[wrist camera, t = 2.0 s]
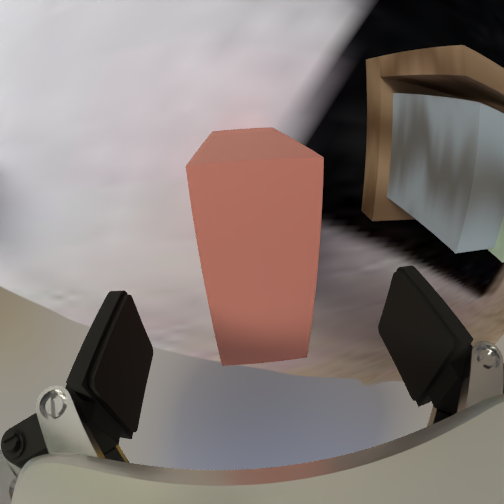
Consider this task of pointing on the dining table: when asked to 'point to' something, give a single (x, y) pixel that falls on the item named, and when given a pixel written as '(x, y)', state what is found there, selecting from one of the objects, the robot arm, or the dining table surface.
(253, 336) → the salmon red block
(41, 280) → the dining table surface
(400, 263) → the dining table surface
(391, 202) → the shelf
